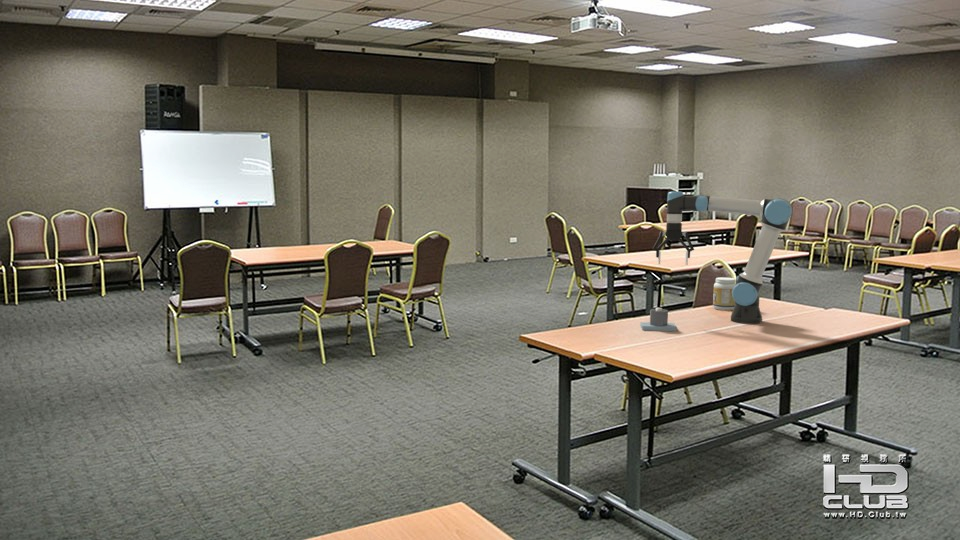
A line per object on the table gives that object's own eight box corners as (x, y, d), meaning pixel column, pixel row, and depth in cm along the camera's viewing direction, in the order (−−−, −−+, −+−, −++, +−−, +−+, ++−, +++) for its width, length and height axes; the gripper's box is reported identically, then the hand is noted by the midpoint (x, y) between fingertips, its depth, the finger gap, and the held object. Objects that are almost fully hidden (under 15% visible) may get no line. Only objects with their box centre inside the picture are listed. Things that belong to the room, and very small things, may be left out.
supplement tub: (710, 306, 447) (712, 276, 445) (733, 307, 446) (734, 277, 444) (715, 310, 435) (716, 279, 433) (737, 310, 434) (739, 280, 432)
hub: (665, 323, 387) (666, 309, 387) (668, 326, 380) (668, 311, 379) (649, 322, 388) (649, 308, 387) (651, 325, 380) (651, 311, 380)
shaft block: (673, 327, 388) (674, 306, 387) (676, 331, 378) (677, 310, 377) (640, 326, 390) (641, 306, 389) (642, 330, 380) (643, 309, 379)
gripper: (698, 222, 403) (696, 263, 406) (648, 221, 405) (646, 262, 408) (700, 223, 396) (699, 265, 398) (649, 222, 398) (648, 264, 401)
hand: (672, 264), depth 403 cm, fingers open, 13 cm apart
